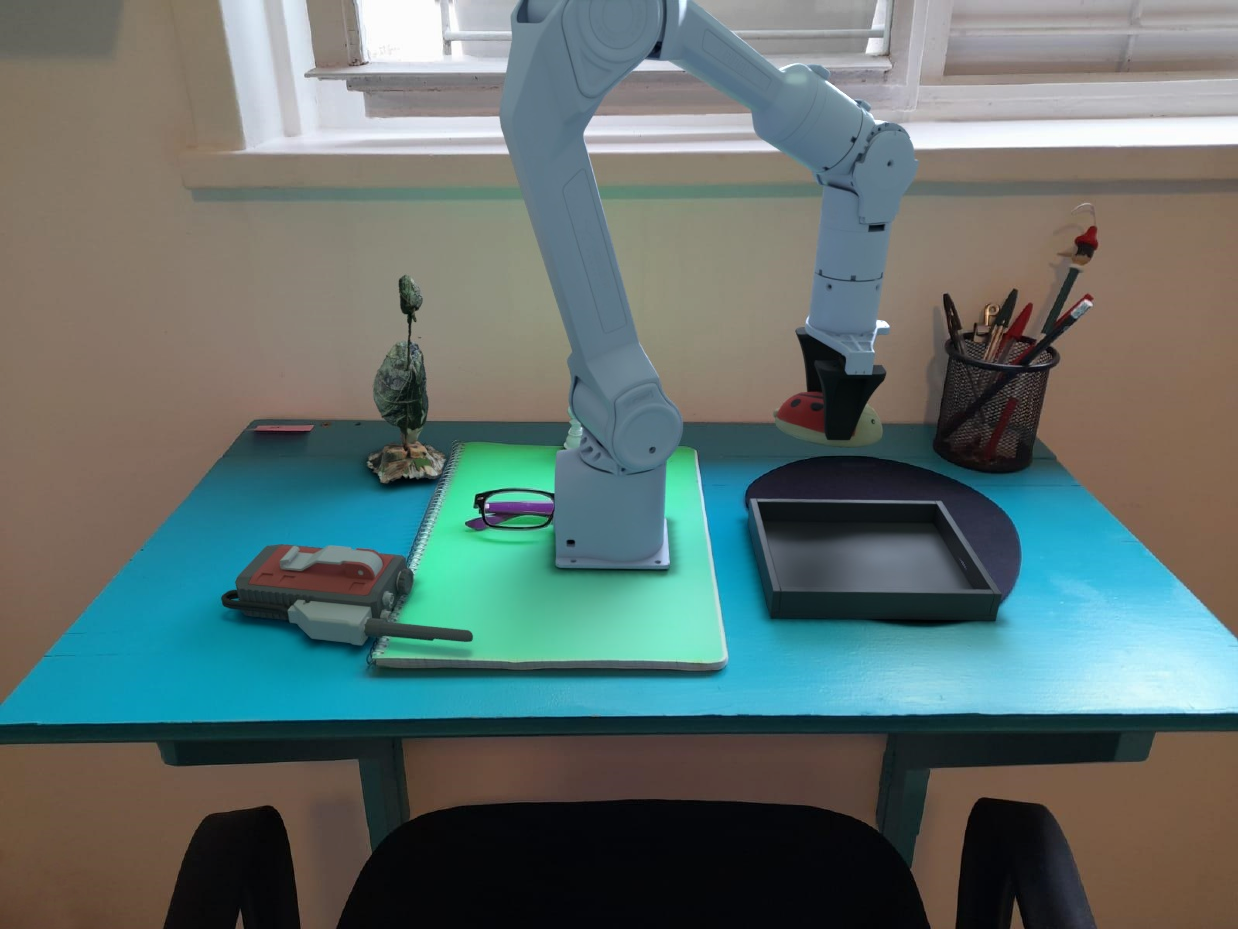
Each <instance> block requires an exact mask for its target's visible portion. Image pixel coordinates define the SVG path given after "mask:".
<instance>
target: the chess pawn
mask: <svg viewBox="0 0 1238 929" xmlns="http://www.w3.org/2000/svg"><path fill="white" fill-rule="evenodd" d="M566 411H567V414H568V417H569V418H571V419H569V422H568V423H569V424H570V425H571V427H570V428H569V430H568V432H567V433H568V434H567V436H566V438H565V442H564V443H563V447H564V448H565V450H566V449H572V448H577V447H579V446H580V440H581V436H582V424H581V423H579V422H578V421H577V419H576V418H575V417H574V416H573V414H572V412H571V409H570V406H569V405H568V407H567V410H566Z"/></svg>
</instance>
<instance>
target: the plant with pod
mask: <svg viewBox="0 0 1238 929" xmlns="http://www.w3.org/2000/svg"><path fill="white" fill-rule="evenodd" d="M398 293H399V306H400V310H401V313H402V314H403V315H406V323H407V324H408V328H407V329H408V336H407V340H401V341H397V342H396V343H395V344H393V345H392V346H391V348H390V350H388V352H387V354H386V355H385V358H384V359H383V360H382V364H381V365H380V367H379V368H378V369H377V370H376V374H375V376H374V378H373V383H372V392H373V393H372V394H373V401H374V404H375V405H376V408H377V410H378V412H379V413H380V416H381V418H382V419H383V420H385V422H387V423H388V424H389V425H391V426H393V427H397V428H399V430H400V434H399V435H400V437H399V439H400V442H401V443H396V442H391V443H388V444H386V445H384V446H383V448H382V449H381V450H378V451H377V452H372V453H371V452H370V453H369V454H368V457H367V458H368V461H367V462H366V466H367V467H368V468H370V470H371V469H373V471H372V473H374V474H375V473H376V474H377V476H379V479H380V483H383V484H389V483H390V481H391V482H395V481H396V480H397V479H402V476H403V477H404V478H405V479H408V477H409V479H414V478H416V480H419V479H424V478H426V479H427V478H428V480H431V479H432V480H436V479H438V478H440V477H441V476H442V475H443V472H444V471H443V468H444V464H445V462H446V461H447V459H446V455H445V454H444V452H443V451H441V450H436V449H435V448H434V447H435V446H431V444H429V443H426V442H424V443H421V442H420V441H418V439H419V436H420V434H421V432H422V431H423V429H424V428H425V424H426V422H427V420H428V419H427V418H428V412H429V397H428V391H427V387H428V386H427V372H426V367H425V364H424V360H425V359H424V354H423V352H422V349H420V347H419V344H418V343H416V342H414V341H412V340H411V336H412V323H413V322H415V323H417V322H418V320H417V317H416V312H417V311H419V310H420V308H421V307H422V305H423V302H424V296H423V293H422V291H421V289H420V287H419V285H417V283H416V281H415V280H414V279H413V278H412V277H411V275H409V274H408V273H406V274H404V275H403V276H401V277H400V278H398ZM417 339H422V336H417Z"/></svg>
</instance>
